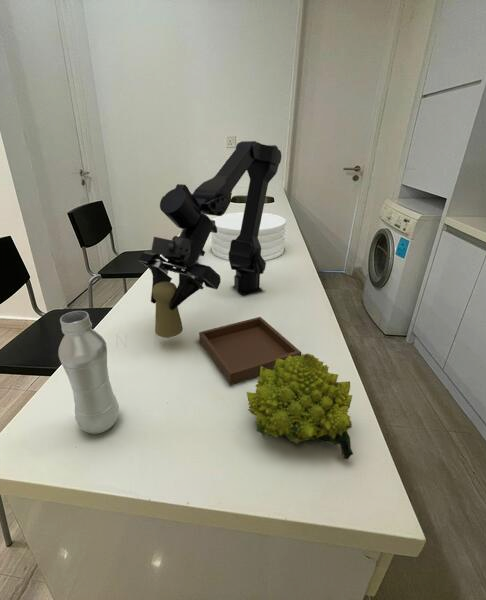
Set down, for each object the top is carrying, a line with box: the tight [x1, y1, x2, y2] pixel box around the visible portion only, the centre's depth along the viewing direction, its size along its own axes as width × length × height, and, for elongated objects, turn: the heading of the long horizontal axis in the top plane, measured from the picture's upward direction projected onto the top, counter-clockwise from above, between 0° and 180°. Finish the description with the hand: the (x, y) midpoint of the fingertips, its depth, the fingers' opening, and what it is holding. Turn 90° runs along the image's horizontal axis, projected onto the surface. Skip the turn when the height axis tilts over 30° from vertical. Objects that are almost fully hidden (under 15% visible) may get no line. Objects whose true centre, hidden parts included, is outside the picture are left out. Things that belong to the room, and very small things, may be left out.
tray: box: [198, 316, 302, 386], centre depth 69 cm, size 16×16×3 cm
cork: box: [151, 281, 184, 339], centre depth 70 cm, size 6×6×11 cm
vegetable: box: [246, 353, 354, 461], centre depth 51 cm, size 15×16×15 cm
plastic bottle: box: [57, 310, 120, 435], centre depth 49 cm, size 6×7×20 cm
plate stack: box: [211, 211, 287, 261], centre depth 128 cm, size 28×28×12 cm
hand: (161, 305), depth 68 cm, fingers closed on cork, 5 cm apart
